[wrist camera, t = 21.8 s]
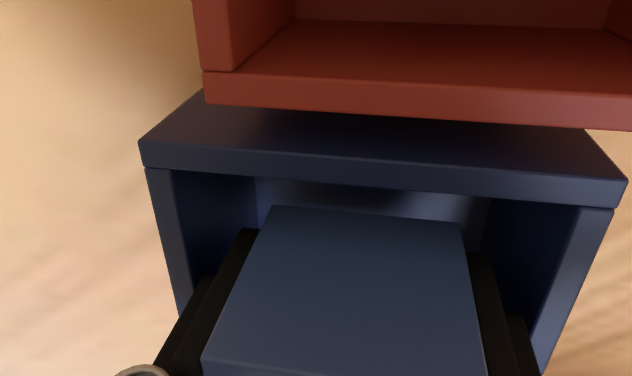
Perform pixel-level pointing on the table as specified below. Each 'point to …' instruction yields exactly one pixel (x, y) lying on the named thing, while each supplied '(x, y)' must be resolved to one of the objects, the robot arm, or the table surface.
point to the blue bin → (388, 191)
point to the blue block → (349, 300)
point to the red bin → (423, 58)
